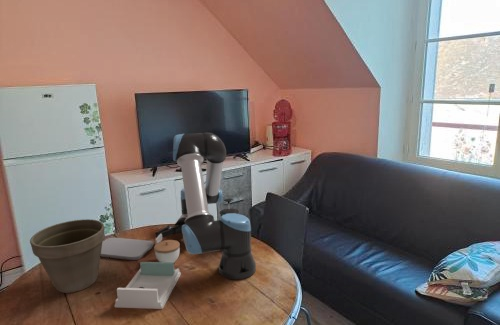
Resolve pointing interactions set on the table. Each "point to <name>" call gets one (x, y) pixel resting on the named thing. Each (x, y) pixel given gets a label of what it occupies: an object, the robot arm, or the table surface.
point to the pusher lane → (147, 291)
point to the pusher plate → (157, 268)
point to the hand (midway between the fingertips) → (171, 242)
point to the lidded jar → (167, 251)
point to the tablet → (125, 248)
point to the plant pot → (70, 253)
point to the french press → (228, 209)
